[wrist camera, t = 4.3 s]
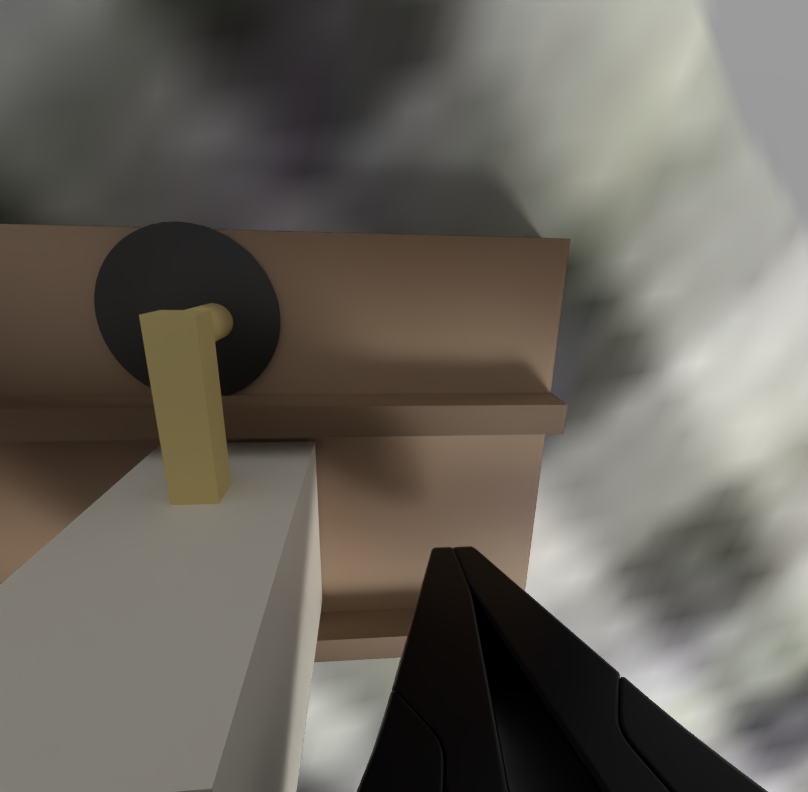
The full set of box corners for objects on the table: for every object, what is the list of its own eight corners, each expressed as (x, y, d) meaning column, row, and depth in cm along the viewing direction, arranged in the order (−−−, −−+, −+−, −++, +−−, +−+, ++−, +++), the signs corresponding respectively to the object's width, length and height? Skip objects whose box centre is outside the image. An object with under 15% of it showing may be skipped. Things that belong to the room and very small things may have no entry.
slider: (322, 599, 10) (259, 1065, 4) (188, 606, 10) (-76, 1111, 4) (308, 301, 8) (148, 406, 2) (137, 299, 8) (-571, 412, 2)
